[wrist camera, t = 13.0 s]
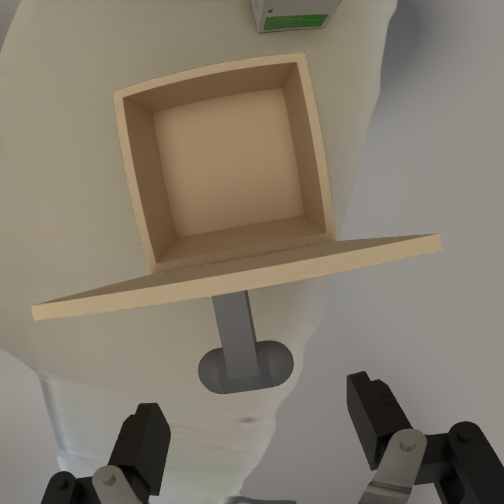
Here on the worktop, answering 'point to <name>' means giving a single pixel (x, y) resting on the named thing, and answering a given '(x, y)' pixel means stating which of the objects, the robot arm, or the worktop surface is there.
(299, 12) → the skincare box
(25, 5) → the worktop surface
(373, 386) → the robot arm
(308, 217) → the carton
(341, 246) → the lid flap
